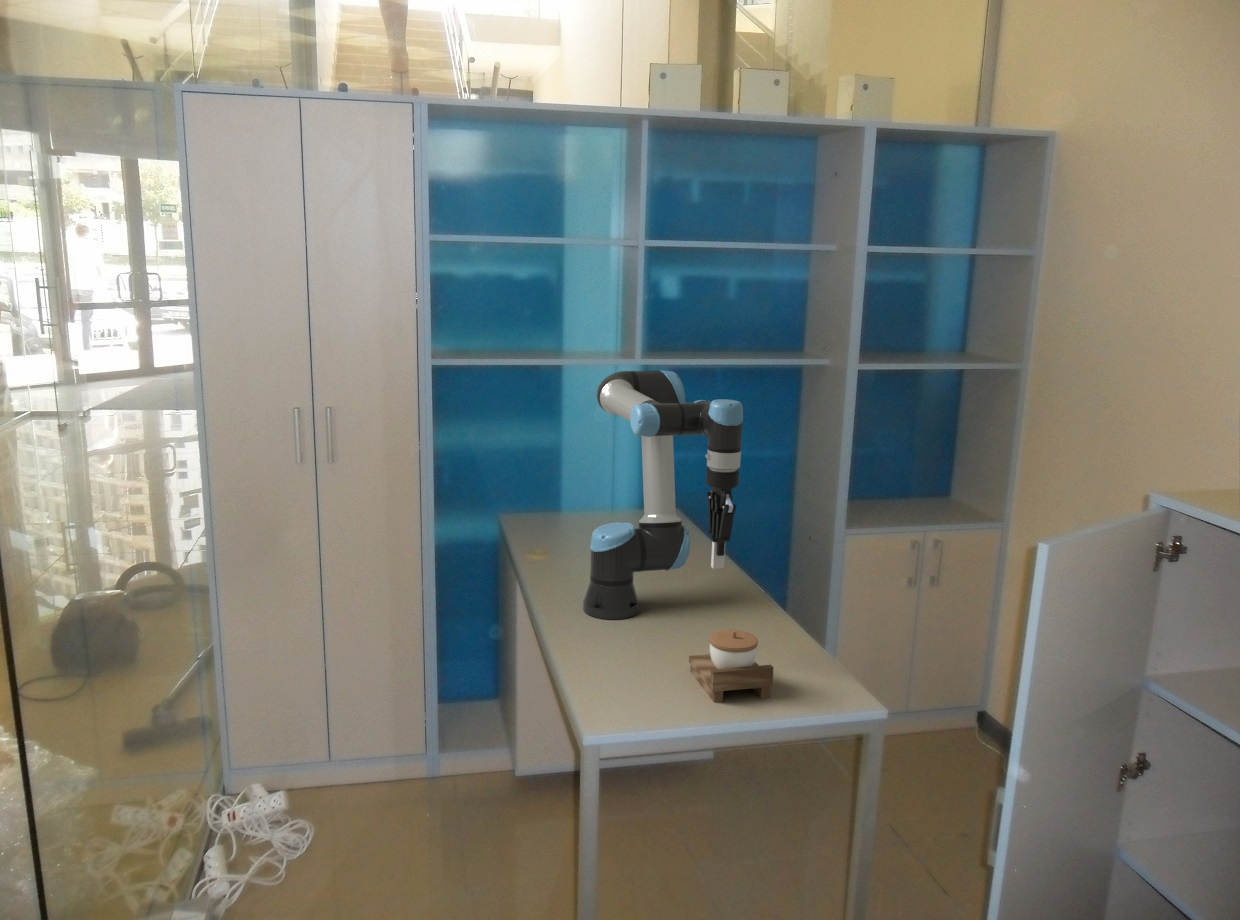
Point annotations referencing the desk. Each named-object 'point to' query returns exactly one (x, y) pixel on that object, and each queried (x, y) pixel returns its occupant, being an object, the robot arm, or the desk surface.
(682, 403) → the robot arm
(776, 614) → the desk surface
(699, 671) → the wooden stand
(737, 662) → the lidded jar
